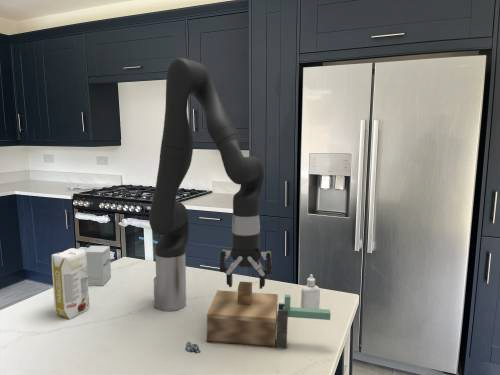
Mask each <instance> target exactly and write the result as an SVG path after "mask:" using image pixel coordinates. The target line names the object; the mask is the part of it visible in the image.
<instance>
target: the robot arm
mask: <svg viewBox="0 0 500 375" xmlns="http://www.w3.org/2000/svg"><path fill="white" fill-rule="evenodd" d="M165 82H166V83H165V111H164V120H163V129H162V137H161V144H160V151H159V160H158V162H159V163H158V170H157V176H156V182H155V188H154V192H153V196H152V201H151V206H150V210H149V217H148V218H149V219H148V221H149V226H150V228H151V230H152V232H153V233H154V234H156V235H157V236H161V237H160V239H159V240H158V242H157V243H156V244H155V247H154V249H155V250H154V252H155V253H154V255H155V277H154V278H153V301H154V302H153V303H154V304H153V305H154V306H153V307H154V308H157V309H159V310H161V311H165V312H171V311H172V312H174V311H177V310H180V309H182V308H184V307H185V306H186V305H187V275H186V273H187V272H186V247H187V245H188V241H189V220H190V219H189V213H188V210H187V208H186V206H185V205H184V204H183V203H182V202H180V201H177V194H178V192H179V190H180V187H181V185H182V183H183V181H184V179H185V178H186V176H187V174H188V171H189V170H190V167H191V163H192V161H193V160H192V159H193V151H194V144H195V143H194V140H195V139H194V136H193V132H192V128H191V126H190V125H191V124H190V121H189V118H188V101H189V96H190V95H191V96H193V98H195V99H196V100H197V101H198V103H199V104H200V106H201V108H202V109H203V113H204V117H205V118H204V119H205V124H206V128H207V129H206V130H207V132H208V134H209V137H210V138H211V140H212V142H213V144H214V145H215V147H216V149H217V150H218V151H219V154H220V157H221V161H222V165H223V168H224V171H225V173H226V176H227V177H228V178H229V180H230V181H231V182H233V183H234V184H236V185H239V186H240V188H239V190H238V191H237V192H236V193H235V194H234V195H233V197H232V221H231V237H232V238H231V243H232V244H231V245H232V246H231V247H232V248H231V250H228V249H226V248H223V249H222V250H221V251H220V257H219V260H220V261H219V272H220V273H225V274H226V275H225V276H226V286H228V288H232V287H233V271H234V270H235V269H236V268H237V266H239V267H240V268H245V267H246V268H252V267H253V268H254V270H255V271H257V272H258V273H259V290H260V289H261V290H262V289H263V288H264V287H265V285H266V276H267V275H271V274H272V270H273V267H272V266H273V265H272V252H271V250H267V251H261V249H260V247H261V245H260V244H261V243H260V241H261V240H260V239H261V238H260V236H261V234H260V233H261V225H260V224H261V223H260V222H261V221H260V201H259V200H260V195H261V193H262V189H263V188H262V187H263V183H264V177H265V169H264V164H263V163H262V161H261V159H260V158H258V157H257V156H252V155H251V156H244V155H243V152H242V149H243V147H244V140H243V139H242V136H241V135H240V133H239V131H238V129H236V127H235V125H234V123H233V122H232V121H231V119H230V116H229V115H228V113H227V111H226V109H225V108H224V105H223V103H222V101H221V99H220V98H221V97H220V96H219V94H218V91H217V88H216V86H215V84H214V81H213V79H212V76H211V75H210V71H209V70H208V68H207V67H206V66H205V65H204V64H203V63H201V62H199V61H195V60H191V59H189V58H185V57H177V58H174V59H173V60H172V61H171V62H170V64H169V66H168V68H167V72H166V80H165ZM229 256H230V257H231V258H232V260H233V261H232V262H231V264H230V265H229V266H227V263H226V262H227V259H228V258H229ZM261 257H262V258H263V260H265V261H266V262H265V263H266V268H265V267H264V266H263V265H262V263H261V262H260V259H261Z"/></svg>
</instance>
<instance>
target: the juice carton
mask: <svg viewBox="0 0 500 375" xmlns="http://www.w3.org/2000/svg"><path fill="white" fill-rule="evenodd" d="M51 271H52V272H51V276H52V286H53V287H52V288H53V298H54V299H53V300H54V310H55V311H54V312H55V314H56V316H59V317H61V318H62V317H63V318H66V319H69V320H71V319H73V318H75V317H77V316H79V315H80V314H83V313H84V312H87V311H88V310H89V309H90V294H89V291H90V290H89V286H88V273H87V257H86V251H85V250H83V249H79V248H73V247H70V248H68V249H65V250H64V251H62V252H56V253H53V254H51Z"/></svg>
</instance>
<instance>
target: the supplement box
mask: <svg viewBox="0 0 500 375" xmlns="http://www.w3.org/2000/svg"><path fill="white" fill-rule="evenodd" d="M110 246H111V245H89V247H88V248H85V249H84V251H86V257H87V273H88V287H90V286H91V287H92V286H93V287H103V286H105V285H106V284H107V282H108V281H109V280H110V279H111V278H112V270H111V269H112V267H111V266H112V265H111V264H112V262H111V247H110Z"/></svg>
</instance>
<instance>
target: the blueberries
mask: <svg viewBox="0 0 500 375" xmlns="http://www.w3.org/2000/svg"><path fill="white" fill-rule="evenodd" d="M201 345H203V343H202V344H201ZM184 347H185V349H184V350H185V351H186V352H187V353H192V354H193V353H194V354H201V350H200V348H199V345H198V344H197V343H191V342H190V341H188V342H187V343H186V345H185V346H184Z"/></svg>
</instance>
